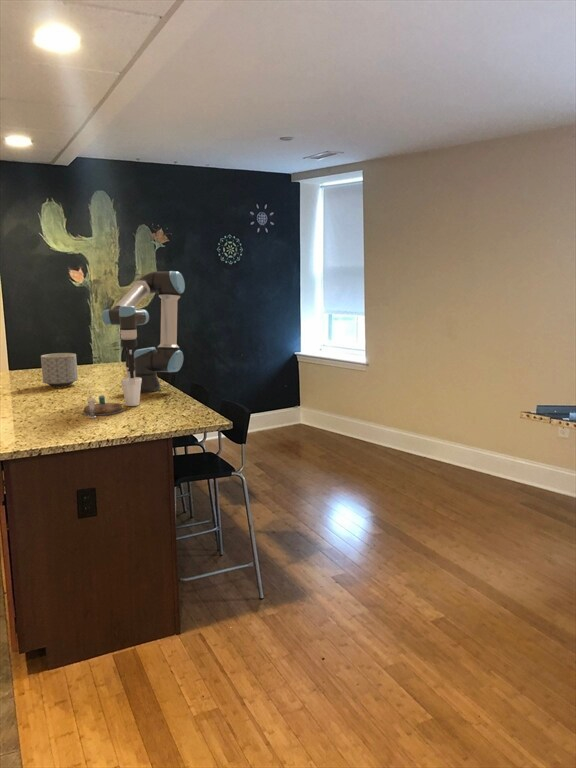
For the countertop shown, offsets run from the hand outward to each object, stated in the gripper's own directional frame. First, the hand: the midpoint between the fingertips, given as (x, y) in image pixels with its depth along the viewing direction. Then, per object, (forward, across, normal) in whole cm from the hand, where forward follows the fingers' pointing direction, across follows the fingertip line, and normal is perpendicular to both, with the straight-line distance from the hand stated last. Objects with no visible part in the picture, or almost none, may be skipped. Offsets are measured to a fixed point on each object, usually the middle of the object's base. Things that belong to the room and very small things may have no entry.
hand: (131, 382), depth 292 cm
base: (+11, +8, -14) cm, 20 cm away
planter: (+11, -74, -34) cm, 82 cm away
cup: (+11, 0, 0) cm, 11 cm away
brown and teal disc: (+10, +6, -14) cm, 18 cm away
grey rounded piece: (+12, +20, -19) cm, 29 cm away
